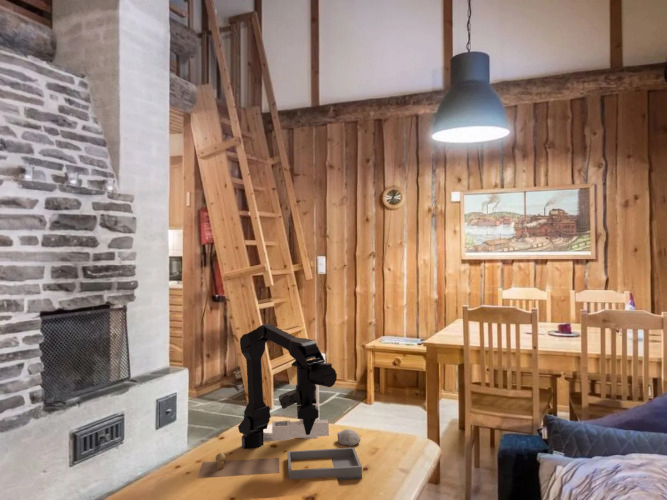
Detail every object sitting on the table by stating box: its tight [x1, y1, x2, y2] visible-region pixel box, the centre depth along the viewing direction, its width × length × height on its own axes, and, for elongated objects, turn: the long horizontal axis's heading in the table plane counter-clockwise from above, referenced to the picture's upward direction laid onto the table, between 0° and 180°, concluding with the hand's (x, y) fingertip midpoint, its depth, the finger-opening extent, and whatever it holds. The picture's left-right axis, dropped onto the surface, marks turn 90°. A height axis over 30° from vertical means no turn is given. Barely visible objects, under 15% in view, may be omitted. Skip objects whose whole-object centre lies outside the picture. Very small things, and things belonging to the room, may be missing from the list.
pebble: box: [336, 428, 361, 447], centre depth 180 cm, size 9×8×5 cm
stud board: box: [197, 452, 280, 479], centre depth 158 cm, size 24×11×6 cm, turn 97°
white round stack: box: [263, 423, 283, 442], centre depth 186 cm, size 10×10×4 cm
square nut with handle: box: [271, 419, 330, 442], centre depth 158 cm, size 17×5×4 cm, turn 95°
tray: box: [286, 447, 363, 481], centre depth 158 cm, size 22×15×4 cm
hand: (307, 432), depth 158 cm, fingers closed on square nut with handle, 3 cm apart
